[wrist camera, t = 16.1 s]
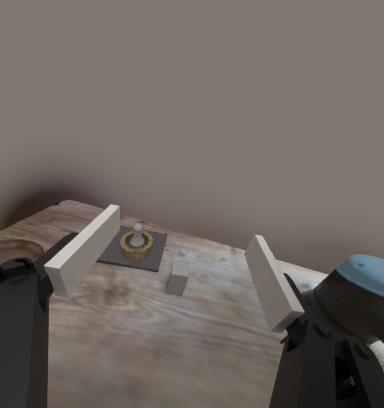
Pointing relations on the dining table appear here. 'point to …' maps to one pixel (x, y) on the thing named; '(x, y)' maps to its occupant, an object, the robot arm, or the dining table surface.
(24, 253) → the plant saucer
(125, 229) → the ring plate
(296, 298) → the robot arm
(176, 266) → the grey block
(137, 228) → the rook chess piece
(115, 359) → the dining table surface
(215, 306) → the dining table surface
